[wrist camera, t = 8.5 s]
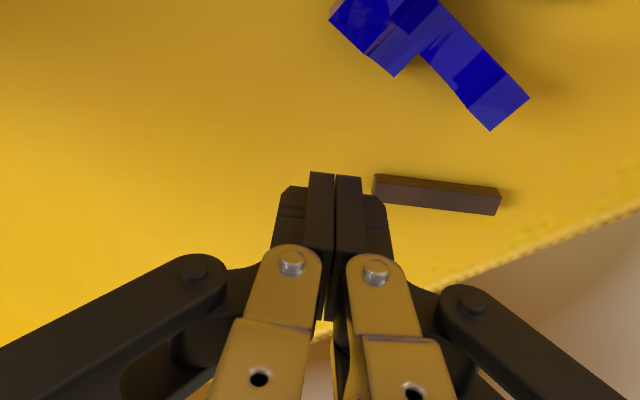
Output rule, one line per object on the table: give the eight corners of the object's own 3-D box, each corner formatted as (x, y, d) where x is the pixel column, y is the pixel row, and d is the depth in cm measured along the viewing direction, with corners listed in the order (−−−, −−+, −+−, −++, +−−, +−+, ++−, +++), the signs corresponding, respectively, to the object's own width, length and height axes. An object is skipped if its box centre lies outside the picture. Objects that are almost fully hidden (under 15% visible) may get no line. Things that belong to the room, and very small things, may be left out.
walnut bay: (370, 192, 25) (371, 201, 25) (421, -59, 19) (425, -58, 18) (490, 207, 26) (495, 216, 25) (584, -38, 19) (595, -36, 18)
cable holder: (329, 9, 20) (326, 27, 17) (384, -57, 19) (393, -51, 15) (444, 120, 23) (461, 154, 19) (501, 69, 21) (530, 98, 18)
